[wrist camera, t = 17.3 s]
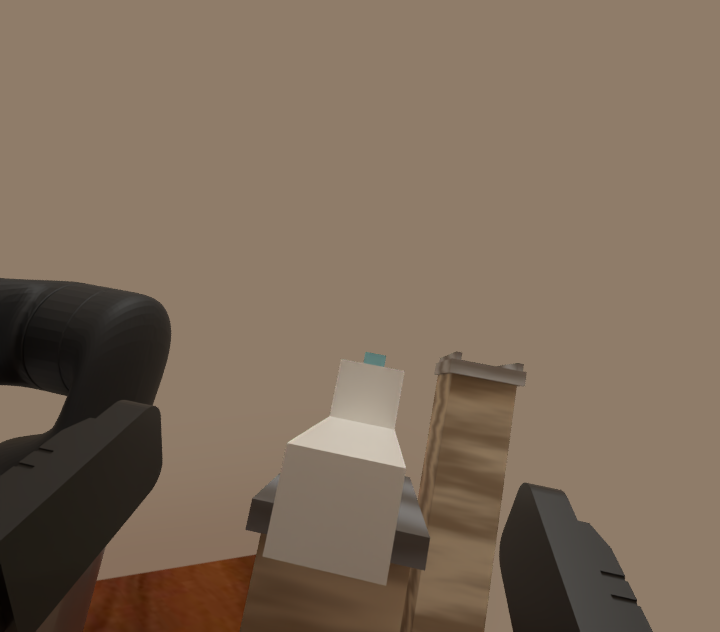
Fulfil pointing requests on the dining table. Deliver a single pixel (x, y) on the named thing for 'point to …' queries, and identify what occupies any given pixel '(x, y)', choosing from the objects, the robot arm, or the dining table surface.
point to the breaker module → (344, 480)
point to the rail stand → (462, 494)
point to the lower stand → (331, 580)
